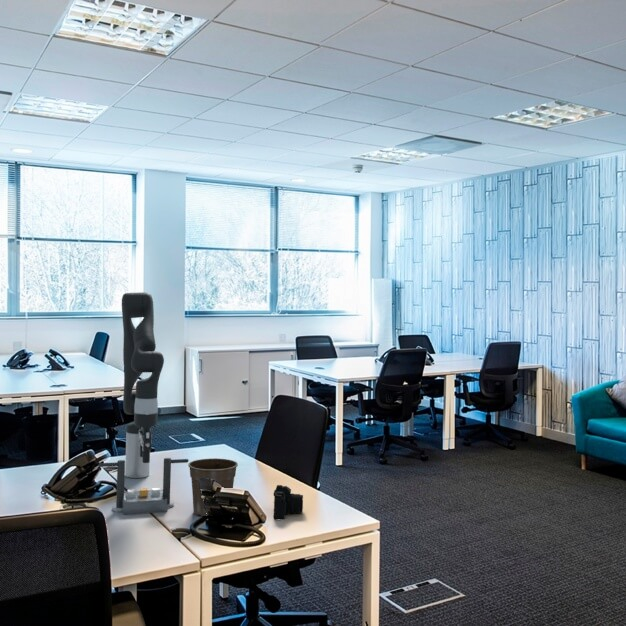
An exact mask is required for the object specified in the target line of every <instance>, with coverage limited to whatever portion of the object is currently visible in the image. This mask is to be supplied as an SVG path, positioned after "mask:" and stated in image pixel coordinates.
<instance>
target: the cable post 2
mask: <svg viewBox="0 0 626 626" xmlns="http://www.w3.org/2000/svg"><path fill="white" fill-rule="evenodd" d="M182 463H183V464H184V463H185V464H187V463H189V459H188V458H180V459H178V458H177V459H172V458H171V457H165V458H163V470H162V471H163V475H162V477H163V478H162V489H163V495H166V497H167V509H171V508H173V507H174V506H175V504H174V502H172V501H171V477H172V476H171V474H172V473H171V471H172V464H182Z"/></svg>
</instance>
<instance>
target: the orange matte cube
mask: <svg viewBox="0 0 626 626" xmlns="http://www.w3.org/2000/svg"><path fill="white" fill-rule="evenodd" d="M139 491H140V497H143V496H148V488H143V487H142V488H139Z"/></svg>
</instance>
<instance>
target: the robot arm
mask: <svg viewBox="0 0 626 626" xmlns="http://www.w3.org/2000/svg"><path fill="white" fill-rule="evenodd" d="M121 313H122V314H121V316H122V327H123V349H122V350H123V351H122V352H123V354H122V355H123V356H122V357H123V358H122V359H123V375H124V377H123V378H124V379H123V400H122V401H123V403H122V405H123V412H124V413H125V414H126V415H129V416H130V415H132V416H133V415H134V417H133V422H129V423H128V424H127V425H126V431H125V434H126V435H125V477H127V478H129V479H130V478H131V479H141V478H142V479H143V478H146V477H149V476H150V467H151V466H150V463H151V462H150V461H151V460H150V459H151V458H150V457H151V456H150V454H151V452H152V445H153V444H152V443H153V441H152V440H153V439H152V437H153V432H152V430H151V429H152V428H151V427H156V426H157V425H158V413H159V411H158V408H159V403H158V401H159V400H158V388H159V387H158V386H159V380H160V377H161V373H162V371H163V367H164V363H165V357H164V355H163V354H162V353H161V352H160V351H156V347H157V345H156V340H155V339H156V338H155V334H154V332H155V331H154V325H155V324H154V323H155V320H154V319H155V318H154V317H155V316H154V300H153V297H152V294H151V293H149V292H145V291H144V292H143V291H142V292H125V293H124V294H123V295H122V297H121ZM135 318H139V319H140V318H142V320H141V321H140V322H139V324H138V325H136V327H135V325H134V323H133V320H132V319H135ZM143 373H144V374H145V373H151V375H150V376H149V377H147V378H143V379H139V378H140V377H141V376H142V374H143ZM138 379H139V380H138ZM134 386H135V390H133V388H134Z"/></svg>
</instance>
